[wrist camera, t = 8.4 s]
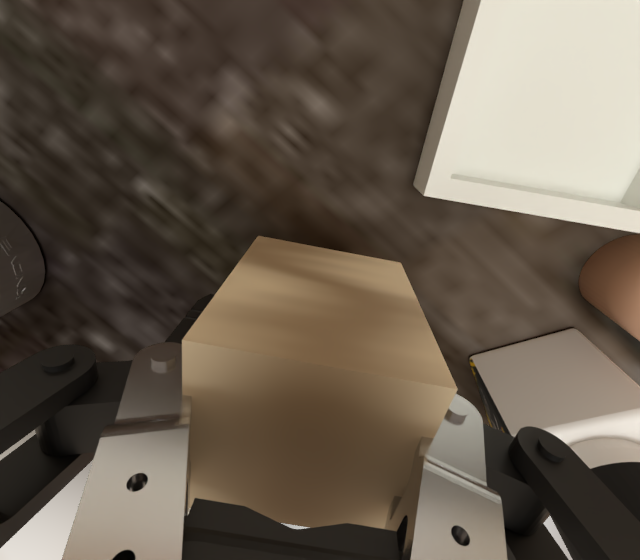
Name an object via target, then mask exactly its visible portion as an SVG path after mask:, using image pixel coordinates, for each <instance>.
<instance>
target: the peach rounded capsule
mask: <svg viewBox="0 0 640 560" xmlns="http://www.w3.org/2000/svg"><path fill="white" fill-rule="evenodd" d="M579 289H580V292H581V294H582V296H583V297H584V298H585V300H587V301H588V302H589V303H590V304H592V305H593V306H594V307H596V308H597V309H598V310H600V311H601V312H602V313H604V314H605V315H606V316H607V317H609V318H610V319H611V320H613V321H614V322H615V323H617V324H618V325H619V326H621V327H622V328H623V329H625V330H626V331H627V332H629V333H630V334H631V335H632V336H634V337H635V338H636V339H638V340H639V341H640V234H633V235H627V236H623V237H620V238H617V239H615V240H613V241H611V242H609V243H607V244H605V245H604V246H602V247H601V248H599V249H598V250H597V251H596V252H595V253H594V254H593V255H592V256H591V257H590V258H589V259H588V260H587V262H586V263H585V265H584V266H583V268H582V270H581V273H580V276H579Z"/></svg>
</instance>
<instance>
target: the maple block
mask: <svg viewBox="0 0 640 560" xmlns="http://www.w3.org/2000/svg"><path fill="white" fill-rule="evenodd" d="M457 390H458V389H457V387H456V385H455V382H454V380H453V378H452V376H451V373H450V371H449V369H448V367H447V364H446V362H445V360H444V358H443V356H442V353H441V351H440V349H439V347H438V344H437V342H436V340H435V338H434V335H433V333H432V331H431V329H430V327H429V324H428V322H427V320H426V318H425V315H424V313H423V311H422V309H421V307H420V304H419V302H418V300H417V298H416V295H415V293H414V291H413V289H412V286H411V284H410V282H409V280H408V278H407V275H406V273H405V271H404V269H403V266H402V264H401V263H399V262H394V261H389V260H384V259H378V258H373V257H368V256H363V255H357V254H352V253H347V252H341V251H336V250H331V249H326V248H320V247H315V246H310V245H305V244H299V243H294V242H289V241H284V240H278V239H273V238H268V237H262V236H258V237H257V238H256V239H255V241H254V242H253V243H252V245H251V246H250V248H249V249H248V250H247V252H246V253H245V254H244V256H243V257H242V258H241V260H240V261H239V263H238V264H237V265H236V267H235V268H234V269H233V271H232V272H231V274H230V275H229V276H228V278H227V279H226V280H225V282H224V283H223V284H222V286H221V287H220V289H219V290H218V291H217V293H216V294H215V295H214V297H213V298H212V300H211V301H210V302H209V304H208V305H207V306H206V308H205V309H204V310H203V312H202V313H201V315H200V316H199V317H198V319H197V320H196V321H195V323H194V324H193V326H192V327H191V328H190V330H189V331H188V332H187V334H186V335H185V336H184V338H183V339H182V395H187V396H192V408H191V431H190V461H191V478H190V501H189V508H191V507H192V504H193V502H194V499H195V498H199V499H205V500H211V501H217V502H223V503H229V504H235V505H241V506H246V507H248V508H250V509H252V510H254V511H256V512H258V513H260V514H262V515H264V516H266V517H269V518H271V519H273V520H275V521H277V522H280V523H286V524H292V525H298V526H304V527H310V528H314V527H321V526H329V525H336V524H343V523H351V524H357V525H363V526H369V527H375V528H381V529H384V528H385V524H386V519H387V515H388V510H389V507H390V504H391V502H392V500H393V498H394V496H399V497H402V496H403V494H404V492H405V490H406V487H407V484H408V481H409V478H410V475H411V470H412V465H413V460H414V454H415V450H416V448H417V446H418V444H419V441H420V439H421V437H428V438H434V437H435V435H436V433H437V431H438V429H439V427H440V425H441V423H442V421H443V419H444V416H445V414H446V412H447V410H448V408H449V406H450V404H451V402H452V400H453V398H454V396H455V394H456V392H457Z"/></svg>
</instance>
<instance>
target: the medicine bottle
mask: <svg viewBox="0 0 640 560" xmlns="http://www.w3.org/2000/svg"><path fill="white" fill-rule="evenodd" d="M470 364H471V367H472V371H473V374H474V377H475V380H476V383H477V386H478V389H479V392H480V395H481V399H482V402H483V405H484V408H485V411H486V414H487V417H488V420H489V423H490V425H491V427H492V428H494V429H497V430H499V431H502V432H504V433H506V434H509V435H511V436H513V437H515V436H516V434H517V433H518V431H519V430H520V429H521V428H523V427H527V426H532V427H537V428H540V429H543V430H545V431H547V432H549V433H551V434H553V435H555V436H556V437H558V438H559V439H561V440H562V441H563V442H564V443H566V444H567V445H568V446H569V447H570V448H571V449H572V450H573V451H574V452H575V453H576V454H577V455H578V456H579V458H580V459H581V460H582V461H583V462H584V463H585V464H586V465H587V466H588V467H589V468H590V469H591V470H592V471H593V473H594V474H595V475H596V476H597V477H598V478H599V479H600V480H601V481H602V482H603V483H604V484H605V485H606V486H607V487H608V489H609V490H610V491H611V492H612V493H613V494H614V495H615V496H616V497H617V498H618V499H619V500H620V501H621V502H622V503H623V505H624V506H625V507H626V508H627V509H628V510H629V511H630V512H631V513H632V514H633V515H634V516H635V517H636V518H637V520H638V521H639V522H640V386H639V385H638V384H636V383H635V382H634V381H633V380H632V379H631V378H630V377H629V376H628V375H627V374H626V373H624V372H623V371H622V370H621V369H620V368H619V367H618V366H617V365H616V364H615V363H614V362H612V361H611V360H610V359H609V358H608V357H607V356H606V355H605V354H604V353H603V352H602V351H600V350H599V349H598V348H597V347H596V346H595V345H594V344H593V343H592V342H591V341H590V340H588V339H587V338H586V337H585V336H584V335H583V334H582V333H581V332H580V331H579V330H577V329H574V328H572V329H568V330H564V331H560V332H557V333H553V334H549V335H546V336H542V337H538V338H535V339H531V340H528V341H524V342H520V343H517V344H513V345H509V346H506V347H502V348H498V349H495V350H491V351H487V352H484V353H480V354H476V355H473V356H471V357H470ZM550 516H551V514H550ZM551 518H552V520H553V522H554V524H555V525H556V527H557V529H558V531H559V533H560V535H561V537H562V539H563V541H564V543H565V545H566V547H567V548H568V551H569V553H570V555H571V557H572V559H573V560H584V559H583V558H582V556H581V555H580V554H579V552H578V551H577V550H576V548H575V547H574V546H573V544H572V543H571V542H570V540H569V539H568V537H567V536H566V535H565V533H564V532H563V531H562V529H561V528H560V527H559V525H558V524H557V522H556V521H555V520H554V518H553V517H552V516H551Z"/></svg>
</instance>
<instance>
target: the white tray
mask: <svg viewBox="0 0 640 560" xmlns="http://www.w3.org/2000/svg"><path fill="white" fill-rule="evenodd" d="M413 186H414V187H415V188H416V189H417V190H418V191H419V192H420V193H421V194H422V195H423V196H428V197H434V198H439V199H445V200H451V201H457V202H462V203H468V204H474V205H480V206H486V207H491V208H497V209H503V210H509V211H515V212H520V213H526V214H532V215H538V216H544V217H549V218H555V219H561V220H567V221H572V222H578V223H584V224H590V225H596V226H601V227H607V228H613V229H619V230H625V231H630V232H636V233H640V0H464V1H463V4H462V8H461V12H460V15H459V19H458V23H457V26H456V30H455V33H454V37H453V41H452V44H451V48H450V52H449V55H448V59H447V63H446V66H445V70H444V73H443V77H442V81H441V84H440V88H439V92H438V95H437V99H436V102H435V106H434V110H433V113H432V117H431V121H430V124H429V128H428V131H427V135H426V139H425V142H424V146H423V150H422V153H421V157H420V161H419V164H418V168H417V171H416V175H415V179H414V182H413Z"/></svg>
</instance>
